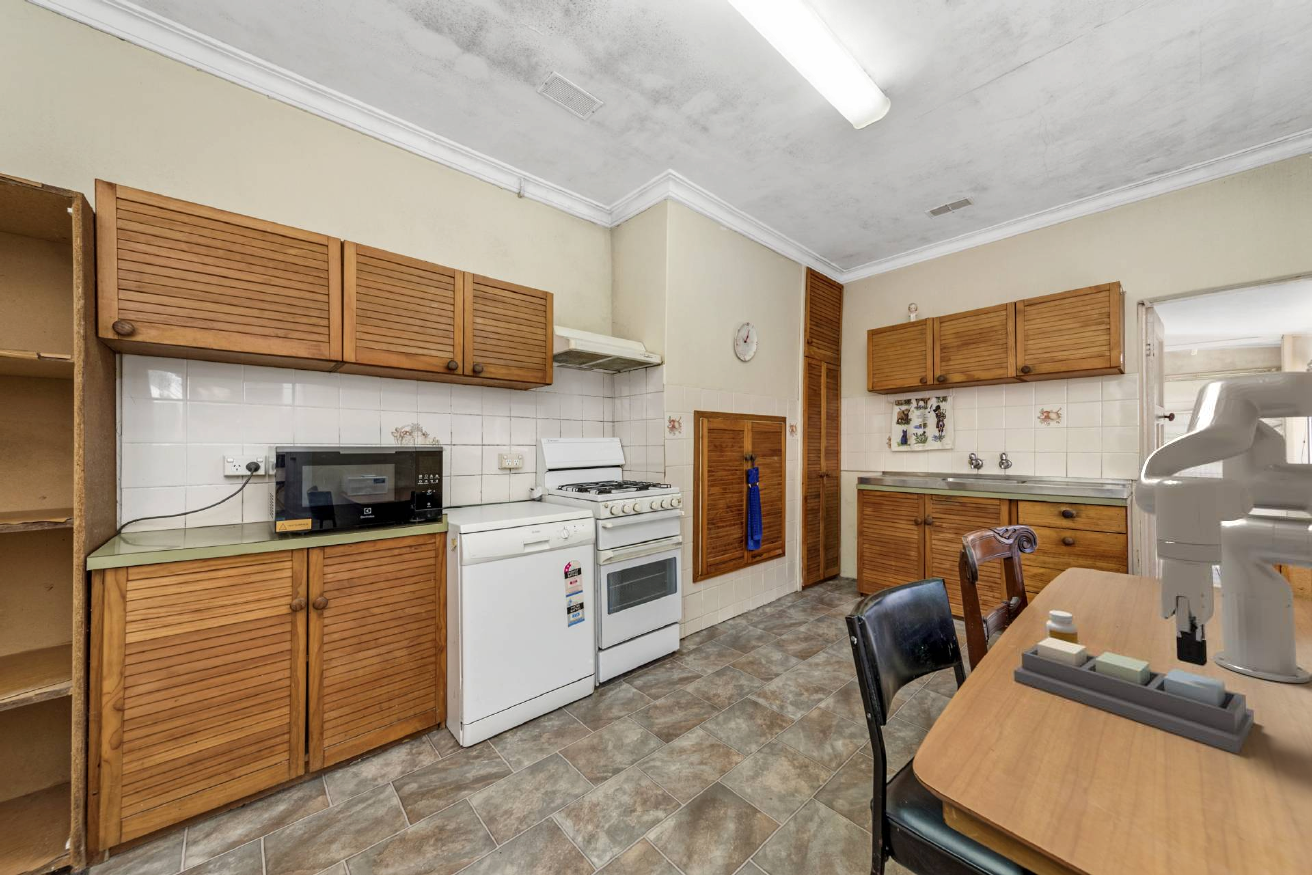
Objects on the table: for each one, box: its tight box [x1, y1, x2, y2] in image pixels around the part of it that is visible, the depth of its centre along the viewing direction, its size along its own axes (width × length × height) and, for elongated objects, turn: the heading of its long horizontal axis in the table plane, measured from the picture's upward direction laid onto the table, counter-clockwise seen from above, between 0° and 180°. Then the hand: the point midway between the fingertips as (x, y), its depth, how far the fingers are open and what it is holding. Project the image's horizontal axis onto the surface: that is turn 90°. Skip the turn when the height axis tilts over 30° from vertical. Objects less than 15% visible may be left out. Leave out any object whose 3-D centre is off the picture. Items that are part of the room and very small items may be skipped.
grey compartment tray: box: [1013, 644, 1255, 755], centre depth 90 cm, size 15×29×5 cm, turn 33°
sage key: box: [1095, 651, 1151, 686], centre depth 90 cm, size 6×6×3 cm
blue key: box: [1164, 668, 1226, 707], centre depth 83 cm, size 6×6×3 cm
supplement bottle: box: [1045, 610, 1079, 645], centre depth 108 cm, size 5×5×10 cm
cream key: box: [1036, 637, 1087, 667], centre depth 98 cm, size 6×6×3 cm
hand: (1191, 661), depth 83 cm, fingers closed
